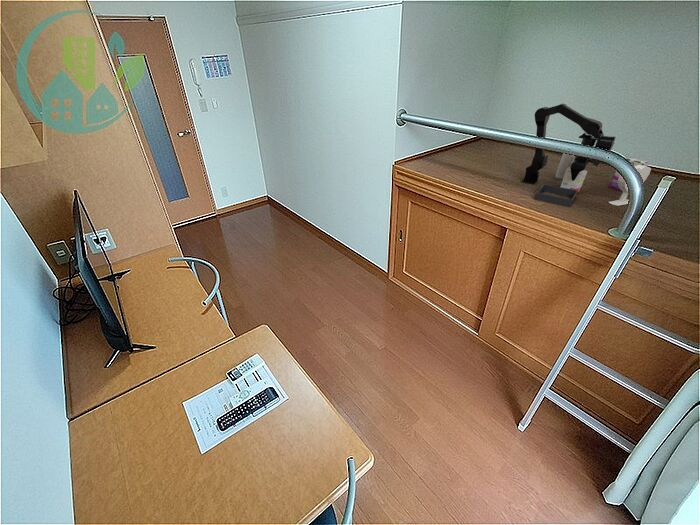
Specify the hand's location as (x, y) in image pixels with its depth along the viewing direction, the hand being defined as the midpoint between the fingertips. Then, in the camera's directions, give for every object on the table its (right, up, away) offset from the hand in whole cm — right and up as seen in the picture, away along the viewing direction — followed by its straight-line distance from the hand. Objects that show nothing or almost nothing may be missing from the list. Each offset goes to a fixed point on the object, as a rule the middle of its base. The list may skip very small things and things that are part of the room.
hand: (574, 178), depth 172 cm
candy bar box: (+29, -5, +4) cm, 29 cm away
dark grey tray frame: (-13, -12, -5) cm, 18 cm away
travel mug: (+6, +5, +20) cm, 22 cm away
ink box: (0, -6, +4) cm, 7 cm away
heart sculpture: (+16, -15, -10) cm, 24 cm away
